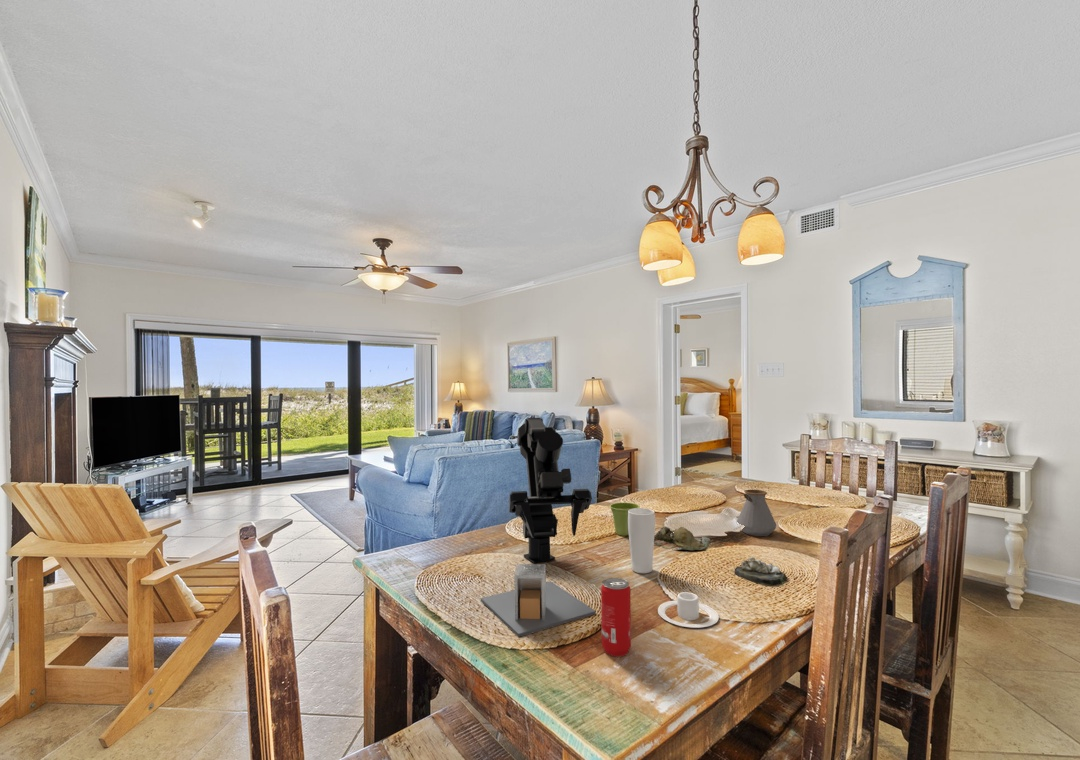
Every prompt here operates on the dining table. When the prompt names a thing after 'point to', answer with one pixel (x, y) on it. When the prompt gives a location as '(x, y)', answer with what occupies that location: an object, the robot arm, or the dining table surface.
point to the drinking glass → (641, 539)
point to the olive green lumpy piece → (681, 539)
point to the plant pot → (621, 516)
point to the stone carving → (760, 572)
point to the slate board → (557, 610)
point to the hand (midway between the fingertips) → (553, 536)
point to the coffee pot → (756, 514)
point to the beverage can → (616, 616)
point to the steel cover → (530, 584)
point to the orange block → (530, 604)
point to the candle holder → (688, 610)
